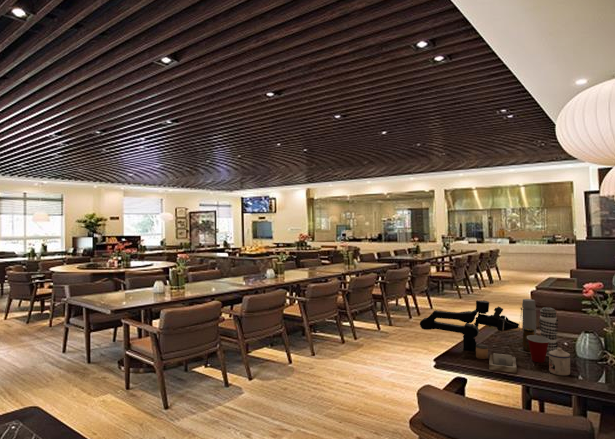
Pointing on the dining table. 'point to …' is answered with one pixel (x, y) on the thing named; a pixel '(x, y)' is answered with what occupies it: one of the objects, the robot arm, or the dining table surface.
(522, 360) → the dining table surface
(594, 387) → the dining table surface
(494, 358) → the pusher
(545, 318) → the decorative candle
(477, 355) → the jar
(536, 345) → the plastic cup
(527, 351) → the condiment
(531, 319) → the water bottle
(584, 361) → the dining table surface
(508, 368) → the tan piece
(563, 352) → the teacup with lid
